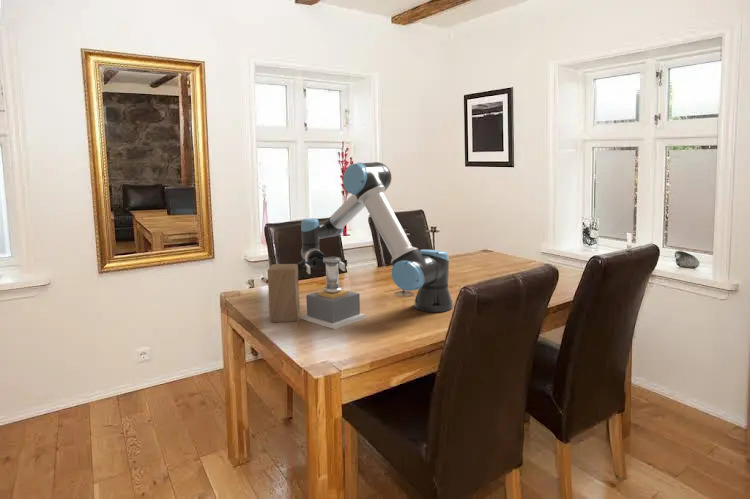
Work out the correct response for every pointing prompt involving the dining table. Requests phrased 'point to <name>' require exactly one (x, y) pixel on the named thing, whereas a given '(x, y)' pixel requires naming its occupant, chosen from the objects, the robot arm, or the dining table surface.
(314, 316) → the pin housing
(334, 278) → the steel pin
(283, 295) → the wooden block
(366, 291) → the dining table surface
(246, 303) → the dining table surface
